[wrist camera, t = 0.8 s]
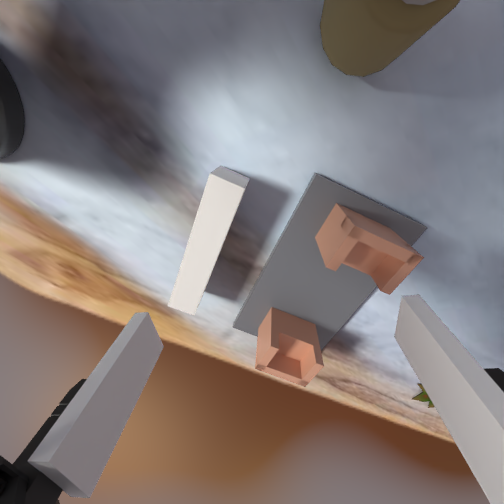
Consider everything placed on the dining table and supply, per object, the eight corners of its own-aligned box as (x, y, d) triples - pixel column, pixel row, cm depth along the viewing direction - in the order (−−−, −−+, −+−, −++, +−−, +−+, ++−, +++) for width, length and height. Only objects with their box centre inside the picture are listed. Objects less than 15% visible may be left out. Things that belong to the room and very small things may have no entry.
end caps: (233, 322, 42) (224, 367, 34) (314, 172, 29) (329, 189, 21) (313, 352, 44) (321, 402, 36) (422, 224, 31) (472, 257, 23)
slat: (182, 282, 39) (167, 306, 34) (221, 165, 30) (209, 173, 25) (204, 290, 40) (194, 315, 34) (249, 178, 31) (244, 188, 25)
